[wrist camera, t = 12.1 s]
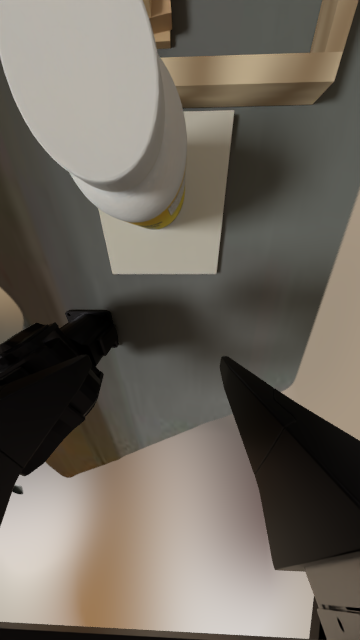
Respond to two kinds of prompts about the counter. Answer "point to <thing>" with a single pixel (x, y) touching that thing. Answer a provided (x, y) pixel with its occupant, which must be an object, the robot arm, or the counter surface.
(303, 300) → the counter surface
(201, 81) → the birch rack
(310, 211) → the counter surface
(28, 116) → the pill bottle
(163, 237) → the pale grey mat
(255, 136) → the counter surface
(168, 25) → the offcut stack
